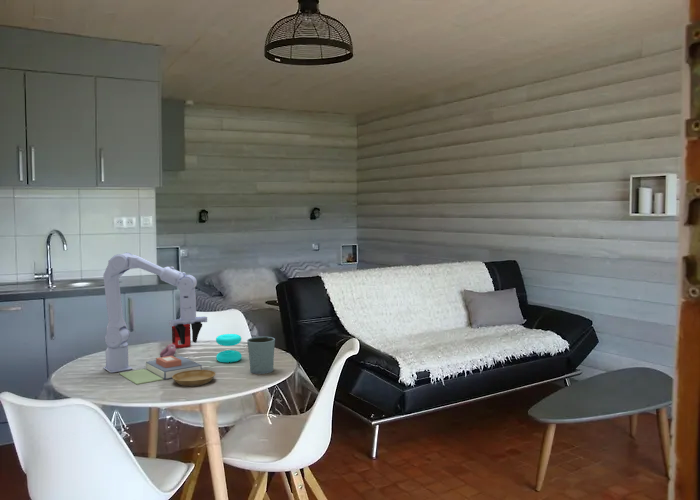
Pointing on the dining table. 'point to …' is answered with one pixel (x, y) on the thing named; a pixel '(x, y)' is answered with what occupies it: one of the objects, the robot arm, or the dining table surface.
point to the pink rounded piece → (168, 351)
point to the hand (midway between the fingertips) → (188, 343)
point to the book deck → (172, 368)
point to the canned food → (176, 337)
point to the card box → (168, 361)
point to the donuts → (228, 354)
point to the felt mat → (141, 376)
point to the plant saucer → (194, 377)
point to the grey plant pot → (261, 354)
